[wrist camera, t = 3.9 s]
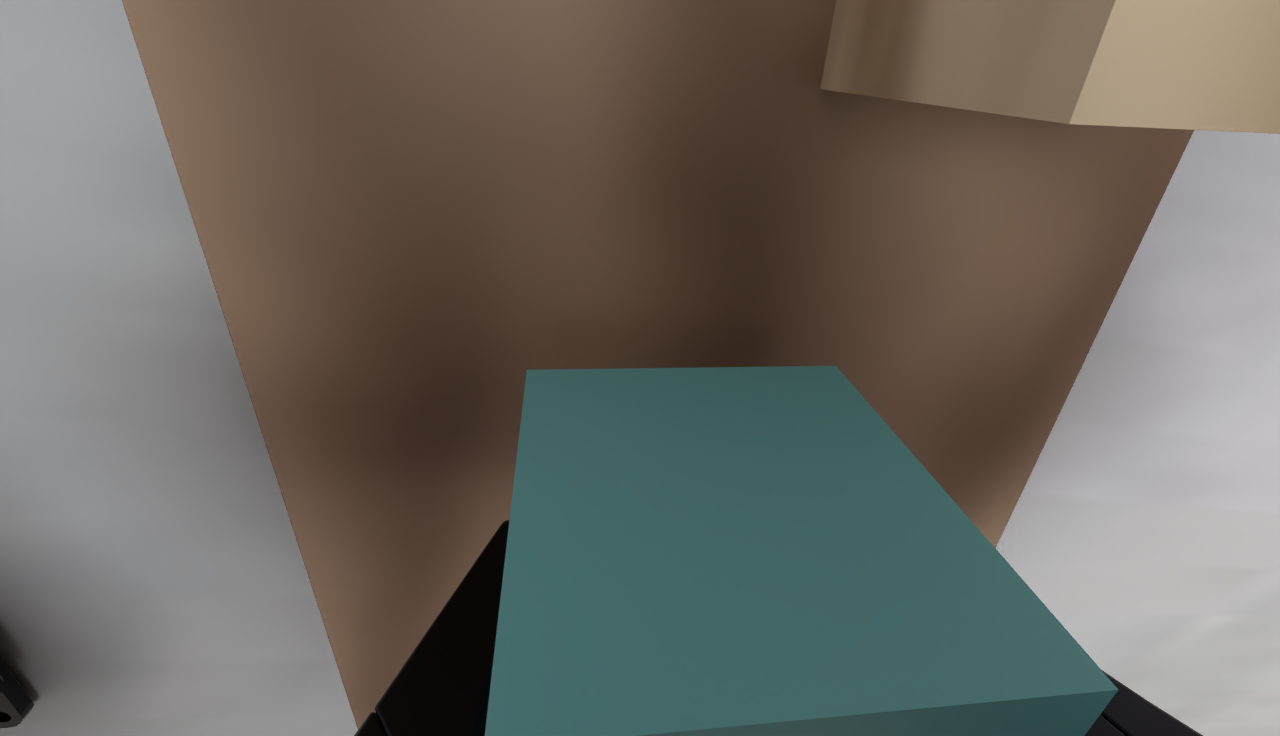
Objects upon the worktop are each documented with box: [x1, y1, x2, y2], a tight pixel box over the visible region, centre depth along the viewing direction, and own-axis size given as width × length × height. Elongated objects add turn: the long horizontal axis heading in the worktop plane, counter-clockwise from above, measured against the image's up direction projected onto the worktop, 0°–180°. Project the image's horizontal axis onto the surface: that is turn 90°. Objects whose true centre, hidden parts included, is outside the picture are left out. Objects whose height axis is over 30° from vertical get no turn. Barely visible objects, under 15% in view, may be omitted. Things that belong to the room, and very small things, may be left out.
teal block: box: [485, 366, 1118, 736], centre depth 8 cm, size 5×5×6 cm
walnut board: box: [122, 0, 1194, 730], centre depth 13 cm, size 18×25×1 cm
